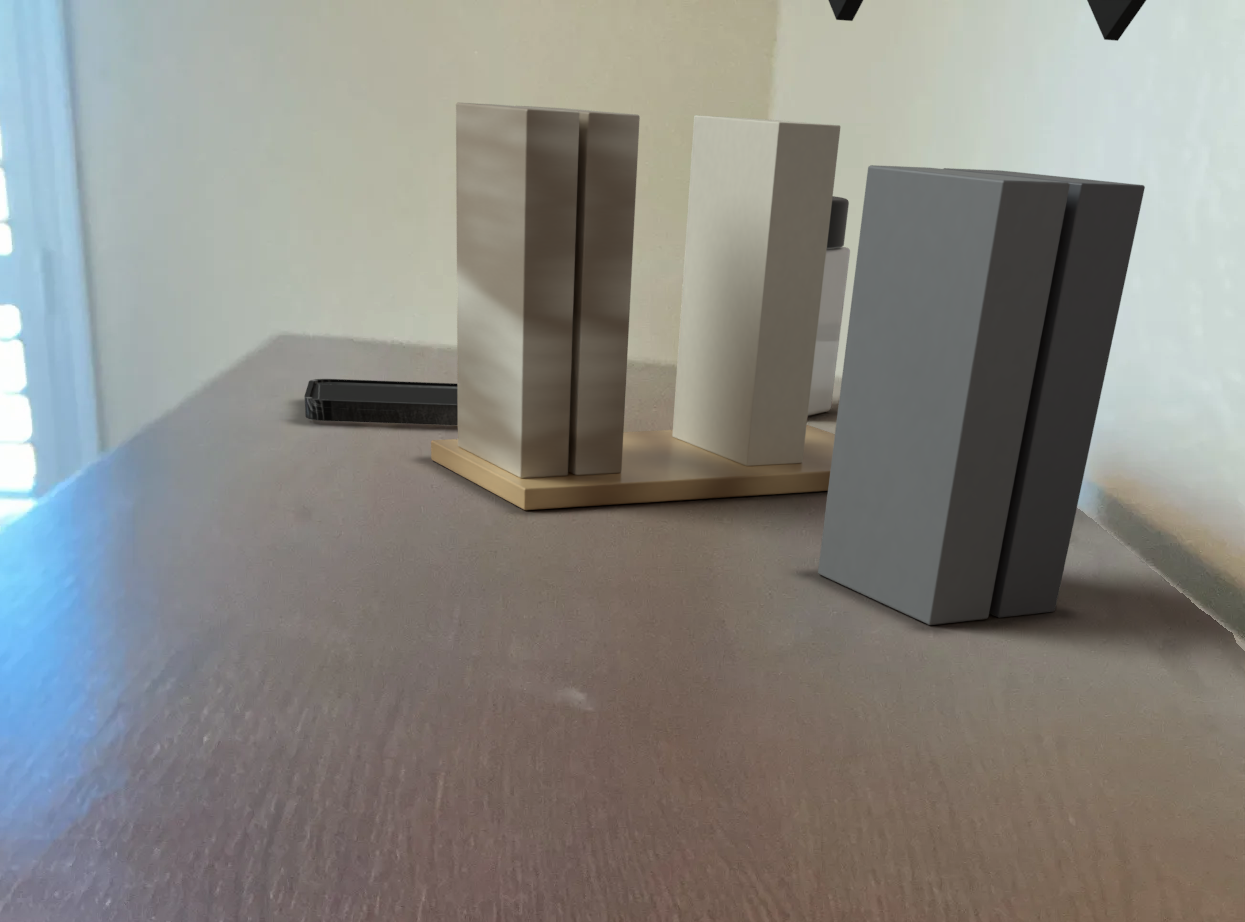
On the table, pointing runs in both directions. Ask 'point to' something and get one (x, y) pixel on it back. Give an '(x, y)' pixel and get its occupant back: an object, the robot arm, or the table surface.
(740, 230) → the tall off-white box
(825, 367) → the jar
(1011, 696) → the table surface
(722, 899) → the table surface
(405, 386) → the phone
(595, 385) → the book rack
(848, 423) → the grey books
